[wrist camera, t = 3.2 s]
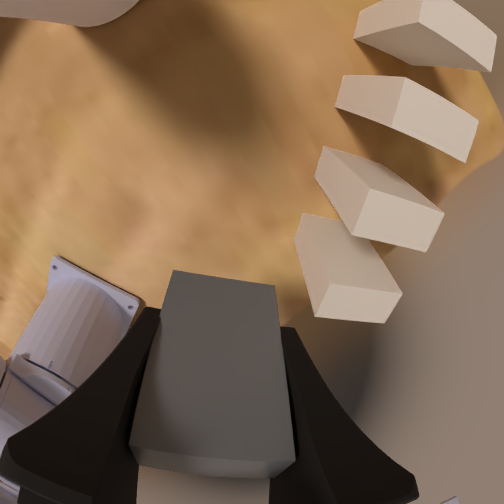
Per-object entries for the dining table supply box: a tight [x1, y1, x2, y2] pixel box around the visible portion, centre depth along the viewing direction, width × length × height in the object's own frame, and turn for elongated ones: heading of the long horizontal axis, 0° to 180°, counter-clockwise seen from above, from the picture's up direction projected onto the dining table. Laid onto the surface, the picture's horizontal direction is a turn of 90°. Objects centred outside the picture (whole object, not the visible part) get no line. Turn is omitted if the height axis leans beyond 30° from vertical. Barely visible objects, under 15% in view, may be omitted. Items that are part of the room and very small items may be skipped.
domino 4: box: [314, 146, 445, 252], centre depth 14 cm, size 2×4×7 cm, turn 78°
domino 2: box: [353, 0, 497, 72], centre depth 9 cm, size 2×4×7 cm, turn 78°
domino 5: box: [294, 213, 403, 323], centre depth 16 cm, size 2×4×7 cm, turn 77°
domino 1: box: [129, 270, 296, 478], centre depth 9 cm, size 2×4×7 cm, turn 78°
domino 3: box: [335, 75, 479, 163], centre depth 11 cm, size 2×4×7 cm, turn 78°
